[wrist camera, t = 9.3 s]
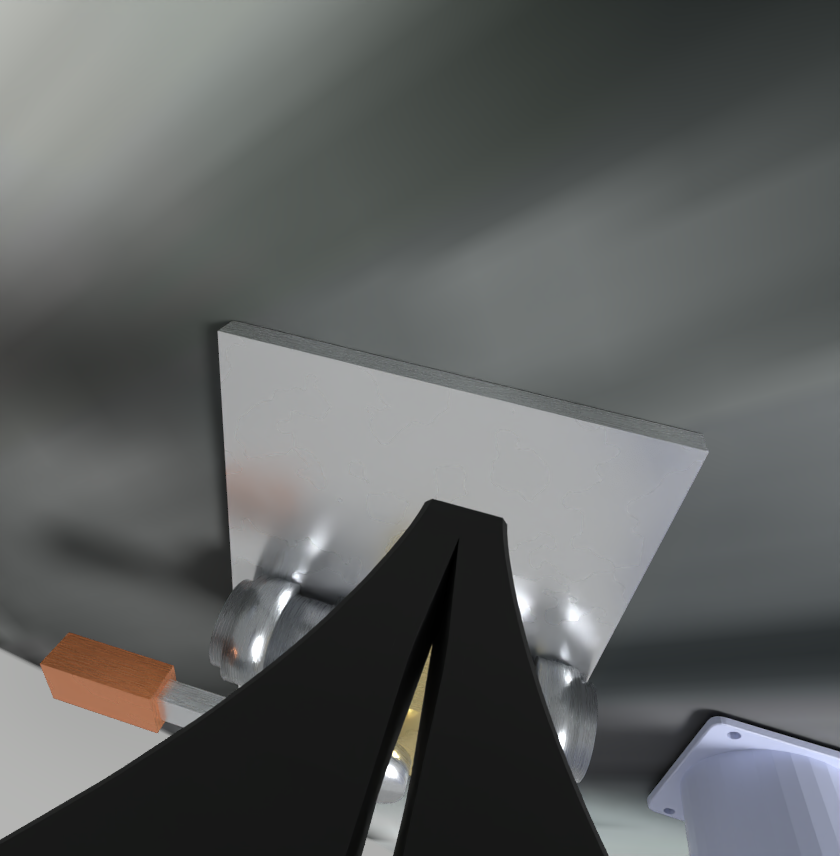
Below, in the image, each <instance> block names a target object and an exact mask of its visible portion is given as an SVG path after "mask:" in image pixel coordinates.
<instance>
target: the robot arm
mask: <svg viewBox="0 0 840 856" xmlns="http://www.w3.org/2000/svg"><path fill="white" fill-rule="evenodd" d="M431 646H432V649H431ZM430 649H431V655H430V661H429V667H428V674H427V680H426V686H425V692H424V698H423V704H422V711H421V717H420V723H419V729H418V735H417V741H416V748H415V754H414V760H413V766H412V772H411V778H410V784H409V789H408V794H407V799H406V804H405V809H404V813H403V817H402V821H401V826H400V830H399V834H398V838H397V842H396V846H395V850H394V854H393V856H608V853H607V851H606V849H605V847H604V845H603V843H602V841H601V838H600V836H599V834H598V832H597V830H596V828H595V826H594V823H593V821H592V819H591V817H590V815H589V812H588V810H587V808H586V805H585V803H584V800H583V798H582V795H581V793H580V791H579V788H578V786H577V783H576V781H575V778H574V776H573V774H572V771H571V769H570V766H569V764H568V761H567V759H566V756H565V753H564V751H563V748H562V745H561V743H560V740H559V737H558V735H557V732H556V730H555V727H554V724H553V721H552V718H551V715H550V713H549V710H548V707H547V704H546V701H545V698H544V695H543V692H542V689H541V685H540V682H539V679H538V676H537V672H536V669H535V666H534V663H533V659H532V656H531V652H530V649H529V645H528V641H527V638H526V634H525V630H524V626H523V621H522V617H521V613H520V609H519V605H518V601H517V596H516V591H515V586H514V581H513V575H512V569H511V563H510V556H509V547H508V535H507V523H506V522H505V520H504V519H503V518H502V517H498V516H495V515H491V514H487V513H483V512H480V511H476V510H472V509H469V508H465V507H461V506H458V505H454V504H450V503H447V502H443V501H439V500H436V499H430V500H428V501H426V502H425V503H424V504H423V506H422V508H421V510H420V511H419V513H418V514H417V516H416V517H415V519H414V520H413V521H412V523H411V524H410V526H409V527H408V528H407V530H406V531H405V532H404V533H403V535H402V536H401V537H400V538H399V540H398V541H397V542H396V543H395V544H394V546H393V547H392V548H391V549H390V551H389V552H388V553H387V554H386V555H385V556H384V557H383V558H382V559H381V560H380V562H379V563H378V564H377V565H376V566H375V567H374V568H373V569H372V570H371V572H370V573H369V574H368V575H367V576H366V577H365V578H364V579H363V580H362V581H361V582H360V583H359V584H358V585H357V586H356V587H355V588H354V589H353V590H352V591H351V592H350V593H349V594H348V595H347V596H346V597H345V598H344V599H343V600H342V601H341V602H340V603H339V604H338V605H337V606H336V607H335V608H334V609H333V610H332V611H331V612H330V613H329V614H328V615H327V616H326V617H324V618H323V619H322V620H321V621H320V622H319V623H318V624H317V625H316V626H315V627H313V628H312V629H311V630H310V631H309V632H308V633H307V634H306V635H304V636H303V637H302V638H301V639H300V640H299V641H297V642H296V643H295V644H294V645H293V646H292V647H290V648H289V649H288V650H287V651H286V652H284V653H283V654H282V655H281V656H279V657H278V658H277V659H276V660H275V661H273V662H272V663H271V664H270V665H268V666H267V667H266V668H265V669H263V670H262V671H261V672H259V673H258V674H257V675H255V676H254V677H253V678H251V679H250V680H249V681H248V682H246V683H245V684H244V685H242V686H241V687H240V688H238V689H237V690H236V691H234V692H233V693H232V694H230V695H229V696H228V697H227V698H225V699H224V700H222V701H221V702H220V703H218V704H217V705H215V706H214V707H213V708H211V709H210V710H208V711H207V712H206V713H204V714H203V715H201V716H200V717H199V718H197V719H196V720H194V721H193V722H191V723H190V724H188V725H187V726H185V727H184V728H182V729H181V730H179V731H177V732H176V733H174V734H173V735H171V736H170V737H168V738H167V739H165V740H164V741H162V742H161V743H159V744H158V745H156V746H155V747H153V748H152V749H150V750H149V751H147V752H146V753H144V754H143V755H141V756H140V757H138V758H137V759H135V760H133V761H132V762H131V763H129V764H128V765H126V766H125V767H123V768H121V769H120V770H118V771H116V772H115V773H113V774H112V775H110V776H108V777H107V778H105V779H103V780H102V781H100V782H99V783H97V784H95V785H93V786H92V787H90V788H88V789H87V790H85V791H83V792H81V793H80V794H78V795H76V796H75V797H73V798H71V799H69V800H68V801H66V802H64V803H63V804H61V805H59V806H57V807H56V808H54V809H52V810H51V811H49V812H47V813H45V814H44V815H42V816H40V817H39V818H37V819H35V820H33V821H32V822H30V823H28V824H27V825H25V826H23V827H21V828H20V829H18V830H16V831H15V832H13V833H11V834H9V835H8V836H6V837H4V838H2V839H1V840H0V856H361V855H362V852H363V848H364V845H365V841H366V837H367V834H368V830H369V827H370V823H371V819H372V816H373V812H374V809H375V805H376V801H377V798H378V795H379V792H380V789H381V786H382V783H383V780H384V777H385V773H386V770H387V768H388V765H389V762H390V759H391V757H392V754H393V751H394V748H395V746H396V743H397V740H398V737H399V735H400V732H401V729H402V726H403V724H404V721H405V718H406V715H407V713H408V710H409V707H410V704H411V702H412V699H413V696H414V693H415V691H416V688H417V685H418V682H419V680H420V677H421V674H422V671H423V669H424V666H425V663H426V660H427V658H428V655H429V652H430ZM647 803H648V807H649V808H650V809H651V810H652V811H654V812H657V813H660V814H663V815H666V816H669V817H672V818H675V819H678V820H682V821H685V827H686V834H687V841H688V848H689V855H690V856H840V752H839V751H836V750H833V749H829V748H826V747H823V746H819V745H816V744H813V743H809V742H806V741H803V740H799V739H796V738H793V737H789V736H786V735H783V734H779V733H776V732H773V731H769V730H766V729H763V728H759V727H756V726H753V725H749V724H746V723H743V722H739V721H736V720H733V719H730V718H726V717H722V716H715V717H711V718H710V719H709V720H708V721H707V722H706V723H705V725H704V726H703V727H702V728H701V730H700V731H699V732H698V733H697V735H696V736H695V737H694V739H693V740H692V741H691V742H690V744H689V745H688V746H687V748H686V749H685V750H684V751H683V753H682V754H681V755H680V756H679V758H678V759H677V760H676V762H675V763H674V764H673V765H672V767H671V768H670V769H669V770H668V772H667V773H666V774H665V776H664V777H663V778H662V779H661V781H660V782H659V783H658V784H657V786H656V787H655V788H654V790H653V791H652V792H651V793H650V795H649V796H648V798H647Z"/></svg>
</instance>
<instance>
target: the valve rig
mask: <svg viewBox="0 0 840 856" xmlns="http://www.w3.org/2000/svg"><path fill="white" fill-rule="evenodd" d="M218 346H219V363H220V380H221V397H222V414H223V431H224V448H225V465H226V482H227V499H228V516H229V533H230V550H231V566H232V583H233V591H232V592H231V594H230V595H229V597H228V598H227V600H226V602H225V604H224V605H223V607H222V609H221V612H220V614H219V616H218V619H217V621H216V624H215V627H214V630H213V633H212V637H211V642H210V649H209V658H210V662H211V663H212V664H213V665H215V666H218V667H220V673H221V677H222V678H223V680H225V681H228V682H231V683H235V684H238V685H239V688H240V687H241V686H242V685H244V684H245V683H246V682H248V681H249V680H250V679H251V678H253V677H254V676H255V675H257V674H258V673H259V672H261V671H262V670H263V669H265V668H266V667H267V666H268V665H270V664H271V663H272V662H273V661H275V660H276V659H277V658H278V657H279V656H281V655H282V654H283V653H284V652H286V651H287V650H288V649H289V648H290V647H292V646H293V645H294V644H295V643H296V642H297V641H299V640H300V639H301V638H302V637H303V636H304V635H306V634H307V633H308V632H309V631H310V630H311V629H312V628H313V627H315V626H316V625H317V624H318V623H319V622H320V621H321V620H322V619H323V618H324V617H326V616H327V615H328V614H329V613H330V612H331V611H332V610H333V609H334V608H335V607H336V606H337V605H338V604H339V603H340V602H341V601H342V600H343V599H344V598H345V597H346V596H347V595H348V594H349V593H350V592H351V591H352V590H353V589H354V588H355V587H356V586H357V585H358V584H359V583H360V582H361V581H362V580H363V579H364V578H365V577H366V576H367V575H368V574H369V573H370V572H371V570H372V569H373V568H374V567H375V566H376V565H377V564H378V563H379V562H380V560H381V559H382V558H383V557H384V556H385V555H386V554H387V553H388V552H389V551H390V549H391V548H392V547H393V546H394V544H395V543H396V542H397V541H398V540H399V538H400V537H401V536H402V535H403V533H404V532H405V531H406V530H407V528H408V527H409V526H410V524H411V523H412V521H413V520H414V519H415V517H416V516H417V514H418V513H419V511H420V510H421V508H422V506H423V504H424V503H425V502H426V501H428V500H430V499H436V500H439V501H443V502H447V503H450V504H454V505H458V506H461V507H465V508H469V509H472V510H476V511H480V512H483V513H487V514H491V515H495V516H498V517H502V518H503V519H504V520H505V522H506V523H507V535H508V547H509V556H510V563H511V569H512V575H513V581H514V586H515V591H516V596H517V601H518V605H519V609H520V613H521V617H522V621H523V626H524V630H525V634H526V638H527V641H528V645H529V649H530V652H531V656H532V659H533V663H534V666H535V669H536V672H537V676H538V679H539V682H540V685H541V689H542V692H543V695H544V698H545V701H546V704H547V707H548V710H549V713H550V715H551V718H552V721H553V724H554V727H555V730H556V732H557V735H558V737H559V740H560V743H561V745H562V748H563V751H564V753H565V756H566V759H567V761H568V764H569V766H570V769H571V771H572V774H573V776H574V778H575V781H576V783H579V782H580V781H581V780H582V779H583V778H584V776H585V774H586V772H587V769H588V766H589V763H590V760H591V756H592V752H593V748H594V742H595V736H596V728H597V695H596V690H595V687H594V685H593V684H592V683H590V682H587V681H588V679H589V677H590V675H591V673H592V671H593V670H594V668H595V666H596V664H597V662H598V660H599V658H600V656H601V654H602V653H603V651H604V649H605V647H606V645H607V643H608V641H609V639H610V637H611V636H612V634H613V632H614V630H615V628H616V626H617V624H618V622H619V620H620V619H621V617H622V615H623V613H624V611H625V609H626V607H627V605H628V603H629V602H630V600H631V598H632V596H633V594H634V592H635V590H636V588H637V587H638V585H639V583H640V581H641V579H642V577H643V575H644V573H645V571H646V570H647V568H648V566H649V564H650V562H651V560H652V558H653V556H654V554H655V553H656V551H657V549H658V547H659V545H660V543H661V541H662V539H663V537H664V536H665V534H666V532H667V530H668V528H669V526H670V524H671V522H672V520H673V519H674V517H675V515H676V513H677V511H678V509H679V507H680V505H681V503H682V502H683V500H684V498H685V496H686V494H687V492H688V490H689V488H690V486H691V485H692V483H693V481H694V479H695V477H696V475H697V473H698V471H699V470H700V468H701V466H702V464H703V462H704V460H705V458H706V456H707V454H708V453H709V450H708V448H707V445H706V442H705V439H704V436H703V434H699V433H695V432H691V431H687V430H683V429H679V428H675V427H670V426H666V425H662V424H658V423H654V422H650V421H646V420H642V419H637V418H633V417H629V416H625V415H621V414H617V413H613V412H609V411H604V410H600V409H596V408H592V407H588V406H584V405H580V404H576V403H571V402H567V401H563V400H559V399H555V398H551V397H547V396H543V395H538V394H534V393H530V392H526V391H522V390H518V389H514V388H510V387H505V386H501V385H497V384H493V383H489V382H485V381H481V380H477V379H472V378H468V377H464V376H460V375H456V374H452V373H448V372H444V371H439V370H435V369H431V368H427V367H423V366H419V365H415V364H411V363H406V362H402V361H398V360H394V359H390V358H386V357H382V356H378V355H373V354H369V353H365V352H361V351H357V350H353V349H349V348H345V347H340V346H336V345H332V344H328V343H324V342H320V341H316V340H312V339H307V338H303V337H299V336H295V335H291V334H287V333H283V332H279V331H274V330H270V329H266V328H262V327H258V326H254V325H250V324H246V323H241V322H237V321H231V322H230V323H228V324H227V325H225V326H224V327H223V328H221V329H220V330H218ZM431 649H432V646H431ZM431 649H430V652H429V655H428V658H427V660H426V663H425V666H424V669H423V671H422V674H421V677H420V680H419V682H418V685H417V688H416V691H415V693H414V696H413V699H412V702H411V704H410V707H409V710H408V713H407V715H406V718H405V721H404V724H403V726H402V729H401V732H400V735H399V737H398V740H397V743H398V744H400V745H401V746H402V747H403V748H404V749H405V750H406V751H407V752H408V754H409V755H410V757H411V761H412V764H411V768H410V772H409V775H410V776H411V772H412V766H413V760H414V754H415V748H416V741H417V735H418V729H419V723H420V717H421V711H422V704H423V698H424V692H425V686H426V680H427V674H428V667H429V661H430V655H431Z"/></svg>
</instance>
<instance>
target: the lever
mask: <svg viewBox="0 0 840 856" xmlns="http://www.w3.org/2000/svg"><path fill="white" fill-rule="evenodd" d="M40 665H41V668H42V670H43V673H44V675H45V678H46V680H47V683H48V685H49V687H50V690H51V693H52V695H53V698H55V699H58V700H61V701H63V702H66V703H69V704H72V705H75V706H78V707H81V708H84V709H87V710H90V711H93V712H96V713H99V714H102V715H105V716H108V717H111V718H114V719H117V720H120V721H123V722H126V723H129V724H132V725H135V726H138V727H140V728H143V729H146V730H149V731H152V732H155V733H158V732H159V730H160V729H161V727H162V726H163V724H164V722H165V721H166V722H169V723H172V724H175V725H178V726H181V727H185V726H187V725H188V724H190V723H191V722H193V721H194V720H196V719H197V718H199V717H200V716H201V715H203V714H204V713H206V712H207V711H208V710H210V709H211V708H213V707H214V706H215V705H217V704H218V703H220V702H221V701H222V700H224V699H225V698H227V697H224V696H221V695H218V694H214V693H211V692H208V691H205V690H202V689H199V688H196V687H193V686H190V685H187V684H184V683H180V682H177V681H176V677H175V671H174V666H173V665H170V664H167V663H163V662H160V661H157V660H154V659H151V658H148V657H145V656H142V655H138V654H135V653H132V652H129V651H126V650H123V649H120V648H117V647H113V646H110V645H107V644H104V643H101V642H98V641H95V640H91V639H88V638H85V637H82V636H79V635H76V634H73V633H70V632H69V633H68V634H67V635H66V636H65V637H64V638H63V640H62V641H61V642H60V643H59V644H58V645H57V646H56V647H55V648H54V649H53V650H52V651H51V652H50V653H49V655H48V656H47V657H46V658H45V659H44V660H43V661H42V662H41V663H40ZM411 764H412V761H411V757H410V755H409V754H408V752H407V751H406V750H405V749H404V748H403V747H402V746H401V745H400V744H398V743H396V746H395V748H394V751H393V754H392V757H391V759H390V762H389V765H388V768H387V770H386V773H385V777H384V780H383V783H382V786H381V789H380V792H379V795H378V798H377V801H376V803H394V802H397V801H399V800H400V799H402V797H403V796H404V793H405V789H406V785H407V781H408V777H409V772H410V768H411Z"/></svg>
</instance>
